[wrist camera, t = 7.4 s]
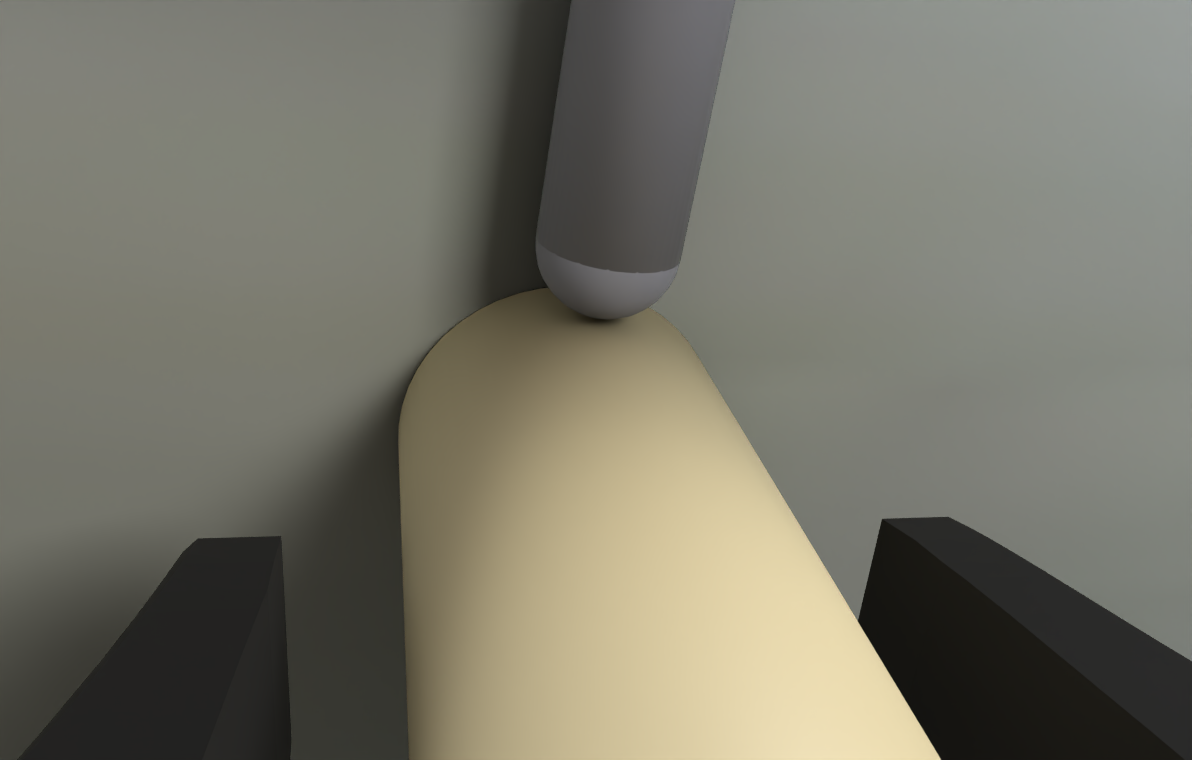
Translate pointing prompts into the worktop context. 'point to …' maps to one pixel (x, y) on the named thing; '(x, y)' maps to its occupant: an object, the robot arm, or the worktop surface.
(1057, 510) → the worktop surface
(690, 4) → the grey rod with ends
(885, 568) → the robot arm
